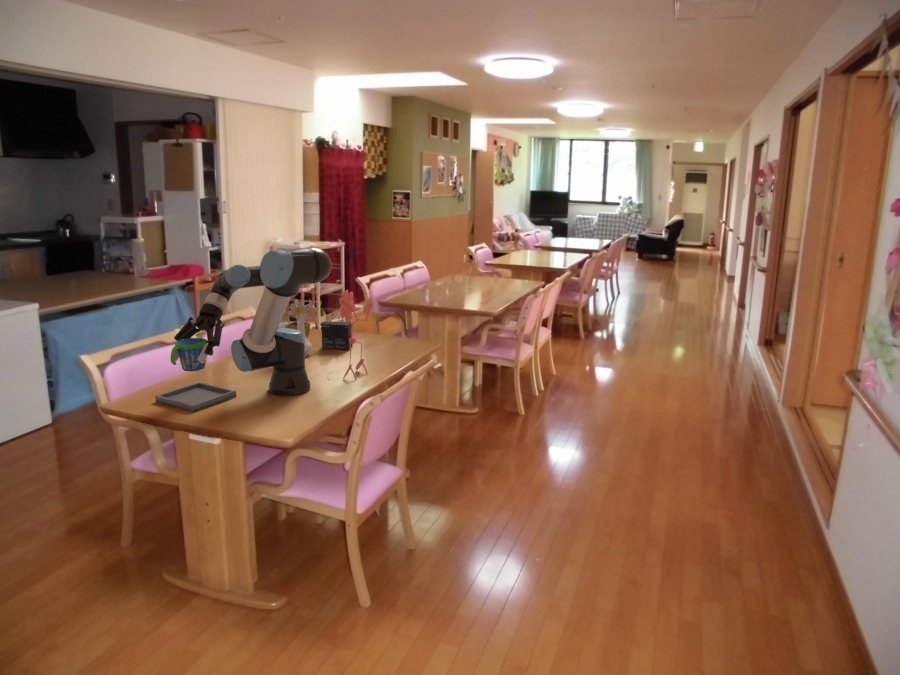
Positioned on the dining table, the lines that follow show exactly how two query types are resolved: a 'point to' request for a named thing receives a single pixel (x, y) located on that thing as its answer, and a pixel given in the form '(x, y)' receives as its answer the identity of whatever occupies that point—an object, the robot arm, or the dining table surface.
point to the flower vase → (301, 318)
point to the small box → (336, 335)
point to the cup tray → (195, 396)
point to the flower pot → (295, 326)
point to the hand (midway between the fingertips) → (187, 360)
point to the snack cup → (189, 353)
